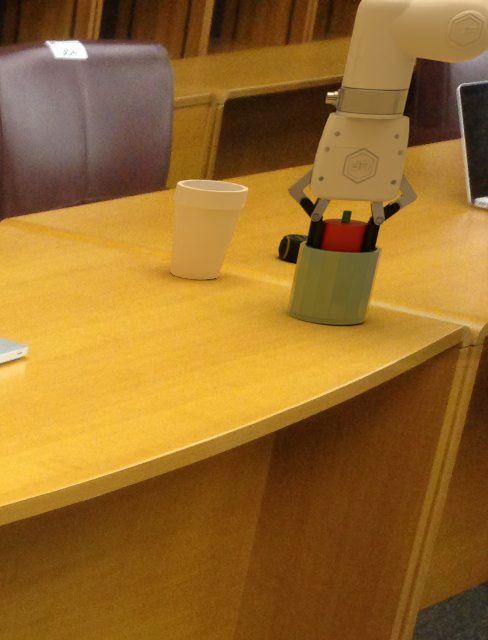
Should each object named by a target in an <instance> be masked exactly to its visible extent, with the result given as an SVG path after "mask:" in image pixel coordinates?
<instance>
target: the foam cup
mask: <svg viewBox="0 0 488 640" xmlns="http://www.w3.org/2000/svg"><path fill="white" fill-rule="evenodd" d="M248 194H249V187H247V186H245V185H243V184H239V183H236V182H235V183H234V182H228V181H221V180H212V179H186V180H180V181H178V182H177V183H176V186H175V191H174V196H173V201H174V209H173V210H174V213H173V226H172V241H171V253H170V254H171V255H170V269H169V273H170V272H171V273H172V274H173V275H172V274H171V273H170V274H171V275H172V276H174V275H175V276H174V277H177V276H179V277H184V278H189V279H188V280H190V279H212V278H213V279H214V278H216V279H218V278H219V275H220V273H221V270H222V267H223V265H224V262H225V259H226V256H227V253H228V250H229V248H230V244H231V242H232V239H233V237H234V234H235V231H236V228H237V226H238V223H239V220H240V217H241V214H242V211H243V209H244V208H245V206H246V203H247V198H248ZM179 277H178V278H179ZM184 278H183V279H184ZM214 280H215V279H214Z"/></svg>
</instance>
